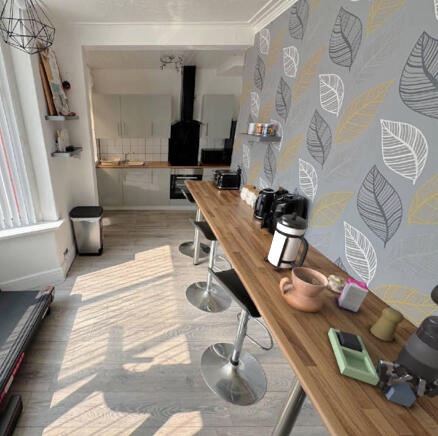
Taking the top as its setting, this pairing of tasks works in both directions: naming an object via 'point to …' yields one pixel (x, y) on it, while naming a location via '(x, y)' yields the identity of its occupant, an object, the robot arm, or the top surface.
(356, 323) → the top surface
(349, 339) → the dark grey block
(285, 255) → the coffee press
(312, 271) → the ceramic jug
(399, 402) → the blue block
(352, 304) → the supplement box
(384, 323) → the cork
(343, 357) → the frame
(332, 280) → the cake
